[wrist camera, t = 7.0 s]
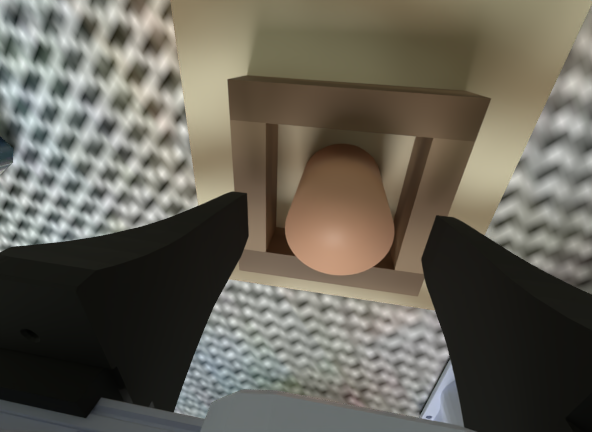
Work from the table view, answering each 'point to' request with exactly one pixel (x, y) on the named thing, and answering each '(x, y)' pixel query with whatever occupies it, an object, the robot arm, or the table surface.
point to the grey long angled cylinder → (5, 155)
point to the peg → (340, 212)
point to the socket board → (366, 113)
